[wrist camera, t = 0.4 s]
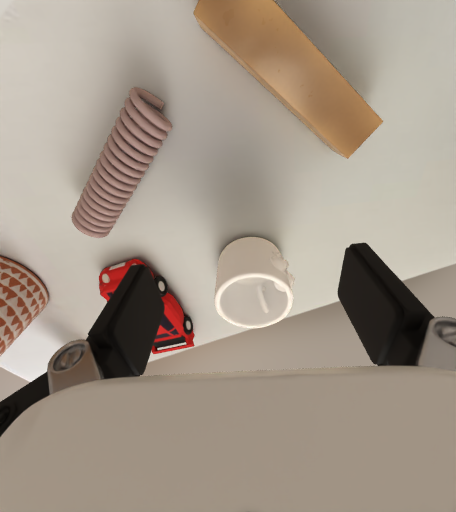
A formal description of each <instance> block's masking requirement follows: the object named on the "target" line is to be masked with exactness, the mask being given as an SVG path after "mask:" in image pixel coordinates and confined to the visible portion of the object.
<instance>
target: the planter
mask: <svg viewBox="0 0 456 512" xmlns="http://www.w3.org/2000/svg"><path fill="white" fill-rule="evenodd" d="M47 303H48V292H47V290H46V288H45V286H44V284H43V283H42V282H41V281H40V279H39V278H38V277H37V276H36V275H34V274H33V273H32V272H31V271H30V270H28V269H27V268H25V267H24V266H22V265H20V264H18V263H16V262H14V261H12V260H10V259H7V258H4V257H1V256H0V356H1V355H2V354H3V353H4V352H5V351H6V349H7V348H8V347H9V346H10V345H11V344H12V343H13V342H14V341H15V340H16V339H17V337H18V336H19V335H20V334H21V333H22V332H23V331H24V330H25V329H26V328H27V326H28V325H29V324H30V323H31V322H32V321H33V320H34V319H35V318H36V317H37V316H38V314H39V313H40V312H41V311H42V310H43V309H44V308H45V307H46V305H47Z"/></svg>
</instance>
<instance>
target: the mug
mask: <svg viewBox="0 0 456 512" xmlns="http://www.w3.org/2000/svg"><path fill="white" fill-rule="evenodd" d="M288 266H289V264H288V262H287V261H286V260H284V259H283V257H282V255H281V253H280V251H279V250H278V248H277V247H276V246H275V245H274V244H272V243H271V242H269V241H268V240H265V239H262V238H258V237H244V238H240V239H237V240H235V241H233V242H232V243H230V244H229V245H228V246H226V247H225V249H224V250H223V251H222V253H221V255H220V258H219V262H218V270H217V279H216V288H215V298H214V301H215V307H216V310H217V312H218V313H219V314H220V316H221V317H222V318H223V319H225V320H226V321H228V322H229V323H231V324H234V325H236V326H240V327H245V328H260V327H265V326H269V325H272V324H274V323H276V322H278V321H280V320H281V319H283V318H284V317H285V316H286V315H287V314H288V313H289V311H290V310H291V308H292V305H293V293H292V287H293V285H294V280H295V278H294V277H293V276H292V275H291V274H290V273H288V271H287V270H286V269H287V268H288Z"/></svg>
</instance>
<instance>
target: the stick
mask: <svg viewBox="0 0 456 512" xmlns="http://www.w3.org/2000/svg"><path fill="white" fill-rule="evenodd" d="M194 15H195V17H196V19H197V21H198V23H199V25H200V27H201V28H202V29H203V30H204V31H205V32H206V33H207V34H208V35H209V36H211V37H212V38H213V39H214V40H215V41H216V42H217V43H218V44H219V45H220V46H221V47H222V48H223V49H224V50H226V51H227V52H228V53H229V54H230V55H231V56H232V57H233V58H234V59H235V60H236V61H237V62H238V63H240V64H241V65H242V66H243V67H244V68H245V69H246V70H247V71H248V72H249V73H250V74H251V75H252V76H253V77H255V78H256V79H257V80H258V81H259V82H260V83H261V84H262V85H263V86H264V87H265V88H266V89H267V90H268V91H270V92H271V93H272V94H273V95H274V96H275V97H276V98H277V99H278V100H279V101H280V102H281V103H282V104H284V105H285V106H286V107H287V108H288V109H289V110H290V111H291V112H292V113H293V114H294V115H295V116H296V117H297V118H299V119H300V120H301V121H302V122H303V123H304V124H305V125H306V126H307V127H308V128H309V129H310V130H311V131H312V132H314V133H315V134H316V135H317V136H318V137H319V138H320V139H321V140H322V141H323V142H324V143H325V144H326V145H328V146H329V147H330V148H331V149H332V150H333V151H334V152H336V153H338V154H340V155H342V156H343V157H345V158H347V159H348V158H349V157H350V156H351V155H352V154H353V153H354V152H355V151H356V150H357V148H358V147H359V146H360V145H361V144H362V143H363V142H364V141H365V140H366V139H367V138H368V137H369V136H370V135H371V134H372V133H373V132H374V131H375V130H376V129H377V128H378V126H379V125H380V124H381V123H382V122H383V120H382V119H381V118H380V117H379V116H378V115H377V114H376V113H375V112H374V111H373V109H372V108H371V107H370V106H369V105H368V104H367V103H366V102H365V101H364V100H363V98H362V97H361V96H360V95H359V94H358V93H357V92H356V91H355V90H354V88H353V87H352V86H351V85H350V84H349V83H348V82H347V81H346V80H345V79H344V77H343V76H342V75H341V74H340V73H339V72H338V71H337V70H336V69H335V68H334V66H333V65H332V64H331V63H330V62H329V61H328V60H327V59H326V58H325V56H324V55H323V54H322V53H321V52H320V51H319V50H318V49H317V48H316V47H315V45H314V44H313V43H312V42H311V41H310V40H309V39H308V38H307V37H306V36H305V34H304V33H303V32H302V31H301V30H300V29H299V28H298V27H297V26H296V25H295V23H294V22H293V21H292V20H291V19H290V18H289V17H288V16H287V15H286V13H285V12H284V11H283V10H282V9H281V8H280V7H279V6H278V5H277V4H276V2H275V1H274V0H199V1H198V3H197V6H196V8H195V10H194Z"/></svg>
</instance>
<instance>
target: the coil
mask: <svg viewBox="0 0 456 512" xmlns="http://www.w3.org/2000/svg"><path fill="white" fill-rule="evenodd" d="M129 96H130V97H129V98H127V99H126V100H125V107H123V108H122V109H121V111H120V117H118V118H117V119H116V125H115V126H114V127H113V128H112V131H111V132H112V134H110V135H109V136H108V138H107V141H108V142H107V143H106V144H105V145H104V150H103V151H102V152H101V153H100V158H99V159H98V160H97V162H96V166H95V167H94V168H93V173H92V174H91V175H90V177H89V180H88V182H87V184H86V187H85V188H84V190H83V193H82V195H81V196H80V200H79V201H78V203H77V206H76V207H75V210H74V212H73V213H72V222H73V224H74V225H75V227H76V228H77V229H78V230H79V231H81V232H82V233H84V234H86V235H88V236H91V237H96V238H101V237H105V236H107V235H108V234H109V232H110V230H111V229H112V228H113V225H114V224H115V223H116V220H117V219H118V218H119V214H121V212H122V211H123V208H124V207H125V206H126V203H127V202H128V201H129V198H130V197H131V196H132V194H133V191H134V190H135V189H136V188H137V184H139V183H140V181H141V177H143V176H144V174H145V170H147V169H148V168H149V163H151V162H152V161H153V156H154V155H156V154H157V153H158V149H157V148H160V147H161V146H162V140H164V139H166V138H167V133H166V131H171V130H172V124H171V122H170V121H169V120H168V119H167V118H166V117H165V116H164V115H162V114H161V113H160V112H159V111H157V110H156V109H155V108H153V107H152V106H150V105H149V104H147V103H145V102H143V101H142V100H141V99H140V98H142V99H144V100H146V101H148V102H150V103H151V104H153V105H154V106H156V107H157V108H158V109H160V110H161V109H162V108H163V105H164V103H163V102H162V101H161V100H159V99H158V98H157V97H155V96H154V95H152V94H150V93H149V92H147V91H145V90H143V89H140V88H137V87H134V88H131V89H130V91H129ZM135 107H137V109H138V110H137V109H135ZM129 116H131V117H132V118H130V117H129ZM125 125H126V126H125ZM137 139H138V140H137ZM139 140H140V141H141V142H142V143H141V142H140V141H139ZM143 143H144V144H143ZM130 145H131V146H133V147H135V148H136V149H138V150H139V151H140V152H142V153H143V154H144V155H143V154H141V153H139V152H138V151H137V150H135V149H134V148H132V147H131V146H130ZM123 151H125V152H126V153H127V154H126V153H124V152H123ZM129 155H130V156H129ZM116 157H117V158H119V159H117V158H116ZM134 158H135V159H136V160H135V159H134ZM137 160H138V161H140V163H139V162H138V161H137ZM111 164H113V165H111ZM134 168H135V169H137V170H135V169H134ZM109 193H110V194H109ZM111 194H112V195H111ZM102 197H103V198H102ZM104 198H105V199H104ZM110 201H111V202H110Z"/></svg>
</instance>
